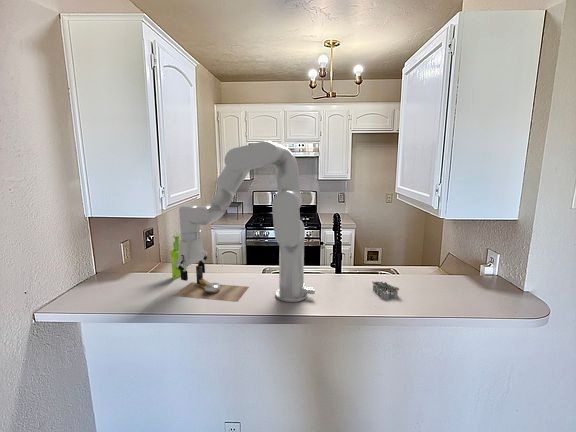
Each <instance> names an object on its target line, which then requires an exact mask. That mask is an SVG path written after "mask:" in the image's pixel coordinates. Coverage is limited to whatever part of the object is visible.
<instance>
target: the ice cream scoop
mask: <svg viewBox="0 0 576 432" xmlns="http://www.w3.org/2000/svg"><path fill="white" fill-rule="evenodd" d="M195 270H196V271H195V274H196V283H197V284H202V285H204V286H205V292H206V293H208V294H213V293H217V292H219V291H220V285H221V284H220V283H218V282H210V281H208V280H206V279H204V273H203V268H202V266H201V265H198V264H197V265H196V266H195Z"/></svg>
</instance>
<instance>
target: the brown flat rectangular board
mask: <svg viewBox="0 0 576 432" xmlns="http://www.w3.org/2000/svg"><path fill="white" fill-rule="evenodd" d="M249 288H250V286H245V285H244V286H243V285H230V284H220V291H219V292H217V293H213V294H208V293H206V292H205V286H204V285H202V284H197V282H189V284H187V285H186V286H185V287H182V288H181V289H180V290H178V292H177V293H175V294H174V295H173V297H181V298H191V299H204V300H216V301H223V302H224V301H225V302H237V303H238V302H239V300H240V299H242V297H243V296H244V295H245V293H246V292H247V291H248V290H249Z"/></svg>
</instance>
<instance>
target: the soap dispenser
mask: <svg viewBox="0 0 576 432" xmlns="http://www.w3.org/2000/svg"><path fill="white" fill-rule="evenodd" d="M180 237H181V233H180V234H179V233H176V234H175V235H173V238H174V242H172V243H173V248H172V249H171V250H170V260H171V273H172V280H176V279H177V278H181V273H180V271H179V269H177V268H176V265H175V264H174V263H175V261H176V260H177V259H178V251H179V242H180ZM180 265H181V264H180ZM184 266H185V265H184ZM184 266H183V268H184Z"/></svg>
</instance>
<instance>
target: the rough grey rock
mask: <svg viewBox="0 0 576 432" xmlns="http://www.w3.org/2000/svg"><path fill="white" fill-rule="evenodd" d="M371 282H372V291H373V292H376V295H380V294H381V295H380V298H381V297H382V298H381V299H385V298H386V300H389V299H388V298H393V297H394V298H393V299H397V297H398V292H399V291H400V287H397V286H394V285H392V284H389V283H388V282H386V281H384V282H383V281H377V280H376V281H373V280H372V281H371ZM386 288H387V289H386ZM387 290H388V291H387ZM389 291H391V292H389Z"/></svg>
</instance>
